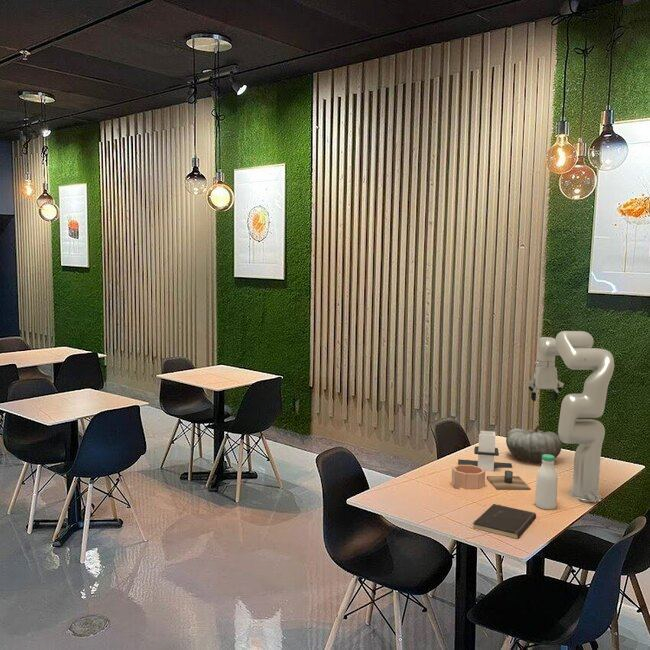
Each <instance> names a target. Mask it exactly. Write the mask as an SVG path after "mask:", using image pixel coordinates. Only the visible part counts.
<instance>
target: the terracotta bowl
mask: <svg viewBox="0 0 650 650" xmlns="http://www.w3.org/2000/svg"><path fill="white" fill-rule="evenodd" d="M451 485H452V487H453V488H454V489H457V490H461V489H464V490H479V489H482V488H483V487H485V485H486V470H484V469H483V468H481V467H477V466H473V465H458V464H457V465H455V466H452V467H451ZM460 488H461V489H460Z"/></svg>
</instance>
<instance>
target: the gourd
mask: <svg viewBox="0 0 650 650" xmlns="http://www.w3.org/2000/svg"><path fill="white" fill-rule="evenodd" d="M539 429H540V426H539V425H536V427H535V428H534V429H524V428H523V429H522V428H517V427H515V428H512V429H510V430H509V431H507V435H506V437H505V443H506V446H507V449H508V451H509V453H510V454H511V455H512V456H513V457H514V458H517V459H520V460H522V461H527V462H529V463H532V464H539V463H542V455H544V454H549V455H553V456H554V457H555V459H556V458H557V457H558V456H559V455H560V454H561V452H562V451H561V450H562V445H563V442H562V441H561V440H560V439H559V436H558V434H557V433H555V432H553V431H543V430H539Z"/></svg>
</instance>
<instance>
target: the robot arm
mask: <svg viewBox="0 0 650 650" xmlns="http://www.w3.org/2000/svg"><path fill="white" fill-rule="evenodd" d="M594 343H595V342H594V337H593V336H592V335H591V333H589V332H587V331H583V330H561V331H560V332H558V333H557V334H556V337H555V338H554V337H552V336H551V337H550V336H542V337H540V338H539V339H538V345H537V346H538V349H537V360H536V361H534V365H537V366H536V367H535V369H534V374H533V378H532V379H531V380H528V381H527V382H525V384H526V386H527V389H529V391H530V393H531V395H530V399H531V401H533V402H536V401H537V393H536V391H538V390H553V392H552V398H551V399H552V401H553V402H557V400H558V394H559V393H560V391H561V390H562V389H563V387H564V385H565V383H564V382H562V381H560V380H559V379H558V370H557V367H556V366H555V365H556V364H555V363H556V356H560V358H561V359H562V361H563V362H564V365H565V366H566V367H567V368H568V369H570V370H573V371H574V370H575V371H579V370H580V371H591V370H592V373H591V374H589V375H588V376H587V378H586V379H585V381H584V383H583V391H582V392H581V393H569V394H566V395H565V396H564V398H563V399H562V401H561V405H560V406H561V407H560V413H559V419H558V425H557V426H558V427H557V433H558V434H557V435H558V436H559V439H560V440H561V443H562V444H568V445H571V444H573V445H575V444H577V445H578V446H577V448H576V450H575V452H574V458H573V460H574V461H573V477H572V478H573V481H572V489H570V490H569V491H568V492H567V493H568V495H569V496H570V497H572V498H574V499H576V500H578V501H579V502H582V503H590V502H594V503H596V502H595V501H599V500H601V498H602V499H603V496H602V495H601V494H600V493H599V488H600V487H599V485H600V469H601V455H602V447H603V443H604V441H605V440H604V439H605V435H606V429H605V426H604V424H603V423H602V422H601V421H599V420H596V419H599V418H600V417H602V416H603V414H604V412H605V406H606V401H607V400H606V399H607V396H608V395H607V394H608V388H609V383H610V381H611V379H612V376H613V373H614V371H615V359H614V357H613V356H614V355H613V354H612V353H611V352H610V351H609V350H608V349H607V350H606V349H604V348H597V347H596V348H595V347H593V346H594ZM592 347H593V348H592ZM531 384H532V386H533V387H532V386H531ZM601 501H602V500H601Z"/></svg>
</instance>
